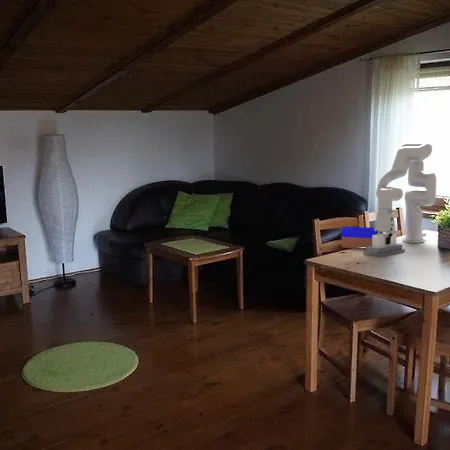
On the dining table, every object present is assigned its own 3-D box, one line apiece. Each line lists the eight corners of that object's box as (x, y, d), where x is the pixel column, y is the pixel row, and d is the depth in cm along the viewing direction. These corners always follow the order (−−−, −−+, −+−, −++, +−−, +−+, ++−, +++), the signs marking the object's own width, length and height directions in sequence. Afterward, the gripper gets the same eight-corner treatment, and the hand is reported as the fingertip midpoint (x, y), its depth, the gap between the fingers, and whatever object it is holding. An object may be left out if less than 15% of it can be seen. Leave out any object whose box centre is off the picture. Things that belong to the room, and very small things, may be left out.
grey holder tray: (387, 248, 315) (387, 241, 314) (404, 251, 305) (404, 244, 304) (363, 253, 304) (363, 246, 303) (380, 257, 294) (380, 249, 293)
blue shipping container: (376, 249, 314) (376, 229, 312) (341, 247, 321) (341, 228, 319) (378, 245, 325) (378, 225, 323) (344, 243, 332) (344, 224, 330)
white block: (390, 247, 310) (390, 231, 308) (396, 248, 307) (396, 232, 305) (372, 251, 302) (372, 235, 300) (377, 252, 299) (378, 236, 297)
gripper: (402, 212, 296) (401, 245, 299) (377, 208, 310) (377, 240, 313) (392, 213, 292) (392, 246, 295) (368, 210, 305) (368, 242, 309)
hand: (384, 243), depth 304 cm, fingers open, 4 cm apart
